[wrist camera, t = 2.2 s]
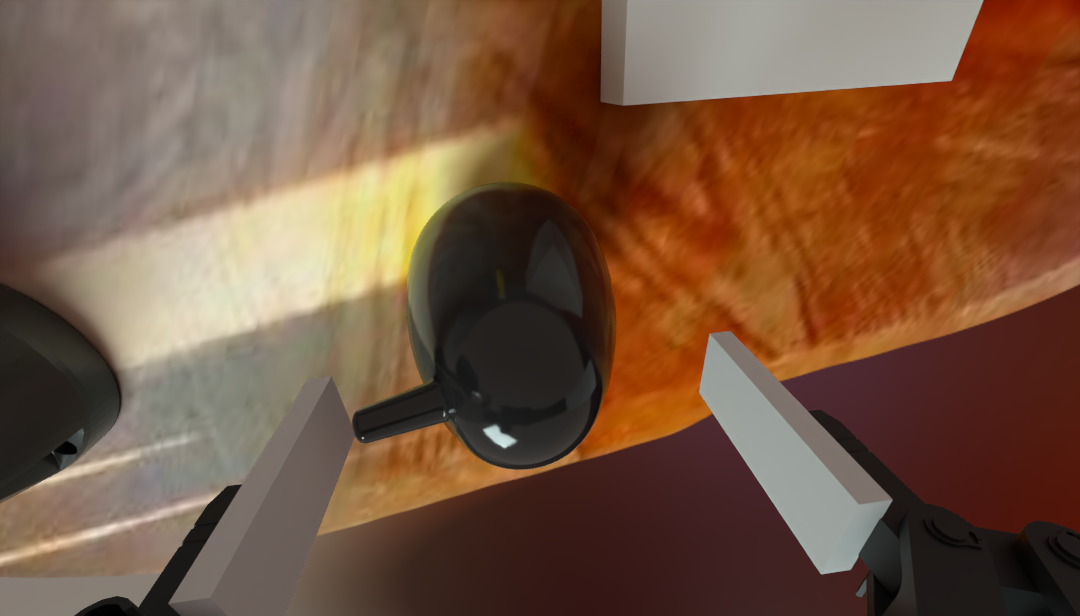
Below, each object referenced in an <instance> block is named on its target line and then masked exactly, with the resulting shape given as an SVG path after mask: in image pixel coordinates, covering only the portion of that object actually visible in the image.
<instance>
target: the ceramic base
mask: <svg viewBox="0 0 1080 616" xmlns="http://www.w3.org/2000/svg"><path fill="white" fill-rule="evenodd" d="M982 3H983V0H602V34H601V102H605V103H611V104H616V105H622V106H625V105H639V104H652V103H665V102H678V101H691V100H704V99H717V98H731V97H744V96H757V95H770V94H783V93H796V92H809V91H822V90H836V89H849V88H862V87H875V86H888V85H901V84H914V83H928V82H941V81H952V78H953V76H954V73H955V70H956V68H957V65H958V63H959V60H960V58H961V55H962V53H963V50H964V48H965V45H966V43H967V40H968V38H969V35H970V33H971V30H972V28H973V25H974V23H975V20H976V18H977V15H978V13H979V10H980V8H981V5H982Z"/></svg>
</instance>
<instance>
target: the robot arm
mask: <svg viewBox="0 0 1080 616" xmlns="http://www.w3.org/2000/svg"><path fill="white" fill-rule="evenodd" d="M699 393H700V395H701V396H702V398H703V399H704V401H705V402H706V404H707V405H708V407H709V408H710V410H711V411H712V413H713V414H714V415H715V417H716V419H717V420H718V422H719V423H720V425H721V426H722V427H723V429H724V430H725V432H726V433H727V435H728V436H729V438H730V439H731V441H732V442H733V444H734V445H735V447H736V448H737V450H738V451H739V453H740V454H741V456H742V457H743V459H744V460H745V461H746V463H747V465H748V466H749V468H750V469H751V471H752V472H753V474H754V475H755V476H756V478H757V479H758V481H759V483H760V484H761V485H762V487H763V489H764V490H765V492H766V493H767V494H768V496H769V497H770V499H771V500H772V502H773V503H774V505H775V506H776V508H777V509H778V511H779V512H780V514H781V515H782V517H783V518H784V520H785V521H786V523H787V524H788V526H789V527H790V529H791V530H792V532H793V533H794V535H795V536H796V538H797V539H798V541H799V542H800V544H801V545H802V546H803V548H804V549H805V551H806V552H807V554H808V556H809V557H810V558H811V560H812V561H813V563H814V564H815V566H816V567H817V569H818V570H819V572H820V573H821V574H826V573H832V572H839V571H846V570H851V568H852V566H853V564H854V563H855V561H856V560H857V558H858V557H859V556H860V557H861V559H862V560H863V561H864V563H865V564H866V565H867V567H868V568H869V571H868V572H867V574H866V576H865V577H864V579H863V580H862V582H861V583H860V585H859V586H858V589H857V592H856V595H857V596H859V597H862V596H863V594H864V592H865V591H866V592H867V616H1080V534H1079V533H1077V532H1075V531H1073V530H1071V529H1069V528H1066V527H1063V526H1060V525H1057V524H1054V523H1051V522H1041V521H1035V522H1032V523H1029V524H1027V525H1026V526H1025V527H1024V528H1023V529H1022V530H1021V531H1020V532H1019V533H1018V534H1015V533H1009V532H1003V531H996V530H990V529H984V528H978V527H974V526H973V525H972V524H970V523H969V522H967V521H966V520H965V519H963V518H962V517H960V516H959V515H957V514H955V513H953V512H951V511H949V510H947V509H945V508H942V507H938V506H935V505H931V504H925V503H924V502H923V501H922V500H920V499H919V498H918V497H917V496H916V495H915V494H914V493H913V492H912V491H911V490H910V489H909V488H908V487H907V486H906V485H905V484H904V483H903V482H902V481H901V480H900V479H899V478H898V477H897V476H895V475H894V474H893V473H892V472H891V471H890V470H889V469H888V468H887V467H886V466H885V465H884V464H883V463H882V462H881V461H880V460H879V459H878V458H877V457H876V456H875V455H874V454H873V453H872V452H869V451H868V448H867V447H865V445H863V443H861V442H860V441H859V440H856V438H855V436H854V435H853V434H852V433H851V432H850V431H849V430H848V429H847V428H846V427H845V426H844V425H843V424H842V423H841V422H839V421H838V420H836V419H835V418H833V417H831V416H829V415H828V414H826V413H825V412H823V411H821V410H815V411H807V410H806V409H805V408H804V407H803V406H802V405H801V404H800V403H799V402H798V401H797V400H796V399H795V398H794V397H793V396H792V395H791V393H789V391H787V389H786V388H785V387H784V386H783V385H782V384H781V383H780V382H779V381H778V380H777V379H776V378H775V377H774V376H773V375H772V374H771V373H770V372H769V371H768V370H767V369H766V368H765V367H764V366H763V364H762V363H761V362H760V361H759V360H758V359H757V358H756V357H755V356H754V355H753V354H752V353H751V352H750V351H749V350H748V349H747V348H746V347H745V346H744V345H743V344H742V343H741V342H740V341H739V340H738V339H737V338H736V336H735V335H734V334H733V333H732V332H731V331H728V332H719V333H710V334H709V340H708V345H707V351H706V356H705V362H704V368H703V373H702V379H701V384H700V390H699ZM118 412H119V393H118V389H117V385H116V382H115V380H114V377H113V375H112V373H111V371H110V370H109V368H108V366H107V365H106V363H105V362H104V360H103V359H102V357H101V356H100V355H99V354H98V352H97V351H96V350H95V349H94V348H93V347H92V346H91V345H90V344H89V342H88V341H87V340H85V339H84V338H83V337H82V336H81V335H80V334H79V333H78V332H77V331H76V330H74V329H73V328H72V327H71V326H70V325H68V324H67V323H66V322H64V321H63V320H62V319H60V318H59V317H58V316H56V315H55V314H53V313H52V312H50V311H49V310H47V309H46V308H44V307H42V306H41V305H39V304H37V303H36V302H34V301H32V300H31V299H29V298H27V297H25V296H23V295H21V294H19V293H17V292H15V291H13V290H11V289H9V288H7V287H5V286H2V285H0V503H2V502H4V501H6V500H8V499H10V498H11V497H13V496H15V495H17V494H19V493H21V492H23V491H24V490H26V489H28V488H30V487H32V486H34V485H36V484H38V483H39V482H41V481H43V480H45V479H47V478H49V477H51V476H52V475H54V474H56V473H58V472H60V471H62V470H64V469H65V468H67V467H68V466H70V465H71V464H73V463H74V462H76V461H77V460H78V459H79V458H81V457H82V456H83V455H84V454H85V453H86V452H87V451H88V450H89V449H91V448H92V447H93V446H94V445H95V444H96V443H97V442H98V441H99V440H100V439H101V438H102V437H103V436H105V435H106V434H107V432H108V431H109V430H110V429H111V428H112V426H113V425H114V423H115V421H116V418H117V416H118ZM354 437H355V434H354V430H353V427H352V425H351V422H350V420H349V417H348V415H347V412H346V410H345V408H344V405H343V403H342V400H341V398H340V395H339V393H338V390H337V388H336V386H335V383H334V381H333V378H332V376H328V377H319V378H310V379H308V380H307V381H306V383H305V385H304V386H303V388H302V389H301V391H300V393H299V394H298V396H297V397H296V399H295V401H294V402H293V404H292V405H291V407H290V409H289V410H288V412H287V413H286V415H285V417H284V418H283V420H282V421H281V423H280V425H279V426H278V428H277V430H276V431H275V433H274V434H273V436H272V438H271V439H270V441H269V442H268V444H267V446H266V447H265V449H264V450H263V452H262V454H261V455H260V457H259V458H258V460H257V462H256V463H255V465H254V466H253V468H252V470H251V471H250V473H249V475H248V476H247V478H246V479H245V481H244V483H243V484H241V485H233V486H227V487H226V488H225V489H224V490H223V491H222V492H221V493H220V494H219V495H218V496H217V497H215V498H214V499H213V500H212V501H211V502H210V503H209V504H208V505H207V507H206V508H205V510H204V511H203V513H202V514H201V516H200V517H199V518H198V520H197V521H196V523H195V524H194V529H191V530H190V532H189V533H188V535H187V536H186V538H185V539H184V541H183V542H182V543H183V545H182V546H181V547H179V548H178V550H177V551H176V553H175V554H174V556H173V557H172V559H171V560H170V561H169V563H168V564H167V566H166V567H165V569H164V570H163V572H162V573H161V575H160V576H159V578H158V579H157V581H156V582H155V584H154V585H153V587H152V588H151V590H150V591H149V593H148V594H147V596H146V597H145V599H144V600H143V602H142V603H141V604H140V606H139V607H137V606H136V605H135V604H134V603H132V602H131V601H130V600H129V599H128V598H123V597H119V596H116V597H112V598H107V599H103V600H100V601H98V602H96V603H94V604H92V605H91V606H88V607H87V608H85V609H83V610H81V611H80V612H79V613H77V614H76V615H75V616H285V614H286V612H287V609H288V607H289V604H290V602H291V599H292V596H293V594H294V591H295V589H296V586H297V584H298V581H299V578H300V576H301V573H302V571H303V568H304V566H305V563H306V560H307V558H308V555H309V553H310V550H311V547H312V545H313V542H314V540H315V537H316V535H317V532H318V530H319V527H320V524H321V522H322V519H323V517H324V514H325V512H326V509H327V506H328V504H329V501H330V499H331V496H332V494H333V491H334V488H335V486H336V483H337V481H338V478H339V476H340V473H341V470H342V468H343V465H344V463H345V460H346V457H347V455H348V452H349V450H350V447H351V445H352V442H353V439H354Z"/></svg>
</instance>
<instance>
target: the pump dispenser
mask: <svg viewBox="0 0 1080 616" xmlns="http://www.w3.org/2000/svg"><path fill="white" fill-rule="evenodd" d="M406 314H407V325H408V332H409V338H410V343H411V348H412V352H413V356H414V359H415V362H416V366H417V369H418V372H419V374H420V377H421V379H422V382H423V384H422V385H419V386H417V387H414V388H412V389H409V390H407V391H404V392H401V393H399V394H396V395H394V396H391V397H389V398H386V399H384V400H381V401H378V402H376V403H373V404H371V405H368V406H366V407H363V408H361V409H358V410H357V411H356V412H355V413H354V415H353V419H352V425H353V430H354V434H355V436H356V438H357V440H358V441H360V442H361V443H364V444H366V443H370V442H374V441H377V440H381V439H385V438H388V437H392V436H396V435H399V434H403V433H407V432H410V431H414V430H417V429H421V428H425V427H428V426H432V425H436V424H440V423H444V424H445V425H446V427H447V428H448V429H449V431H450V432H451V433H452V434H453V435H454V436H455V437H456V438H457V439H458V440H459V441H460V442H461V443H462V444H463V445H464V446H465V447H466V448H467V449H468V450H469V451H470V452H471V453H472V454H474V455H475V456H476V457H478V458H479V459H481V460H483V461H485V462H487V463H489V464H491V465H494V466H498V467H501V468H506V469H514V470H525V469H534V468H539V467H543V466H546V465H549V464H551V463H554V462H556V461H558V460H560V459H562V458H563V457H565V456H566V455H568V454H569V453H571V452H572V451H573V450H574V449H575V448H576V447H577V446H578V445H579V444H580V443H581V442H582V441H583V440H584V439H585V437H586V436H587V435H588V433H589V432H590V430H591V429H592V427H593V425H594V423H595V421H596V419H597V417H598V415H599V413H600V411H601V408H602V406H603V403H604V400H605V397H606V394H607V391H608V387H609V383H610V378H611V373H612V368H613V362H614V354H615V344H616V307H615V298H614V292H613V286H612V282H611V278H610V274H609V270H608V267H607V264H606V261H605V257H604V255H603V252H602V249H601V247H600V244H599V242H598V240H597V238H596V236H595V234H594V232H593V231H592V229H591V228H590V226H589V225H588V223H587V222H586V221H585V219H584V218H583V217H582V216H581V214H580V213H579V212H578V211H577V210H576V209H575V208H574V207H573V206H571V205H570V204H569V203H568V202H566V201H565V200H564V199H562V198H561V197H559V196H557V195H556V194H554V193H552V192H550V191H547V190H545V189H542V188H539V187H536V186H533V185H529V184H523V183H513V182H502V183H492V184H486V185H482V186H478V187H475V188H472V189H470V190H467V191H465V192H463V193H461V194H459V195H457V196H455V197H454V198H452V199H451V200H449V201H448V202H447V203H445V204H444V205H443V206H442V207H440V208H439V209H438V210H437V211H436V212H435V213H434V214H433V216H432V217H431V218H430V219H429V220H428V222H427V223H426V225H425V226H424V228H423V229H422V231H421V233H420V235H419V237H418V239H417V242H416V244H415V247H414V249H413V252H412V256H411V260H410V264H409V270H408V278H407V291H406Z"/></svg>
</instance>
